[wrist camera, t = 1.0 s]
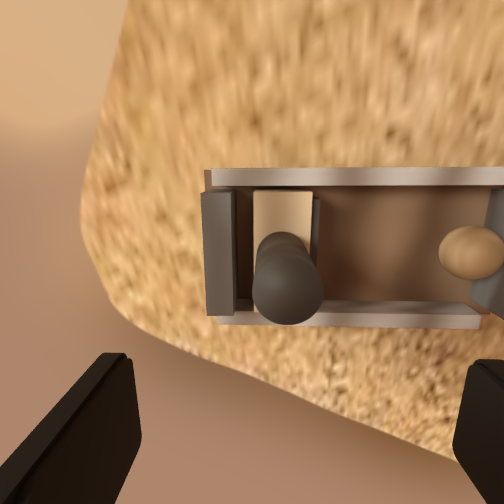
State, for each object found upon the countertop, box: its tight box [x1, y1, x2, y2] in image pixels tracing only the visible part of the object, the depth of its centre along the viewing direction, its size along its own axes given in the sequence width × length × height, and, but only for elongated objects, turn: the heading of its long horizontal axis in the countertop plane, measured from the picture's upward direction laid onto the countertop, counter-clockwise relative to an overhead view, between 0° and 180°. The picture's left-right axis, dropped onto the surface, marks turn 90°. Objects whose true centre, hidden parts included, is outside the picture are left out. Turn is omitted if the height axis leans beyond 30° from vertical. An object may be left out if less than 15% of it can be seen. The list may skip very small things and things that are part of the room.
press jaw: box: [252, 189, 324, 325], centre depth 20 cm, size 5×9×10 cm, turn 0°
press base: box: [201, 167, 504, 329], centre depth 22 cm, size 24×12×8 cm, turn 90°
